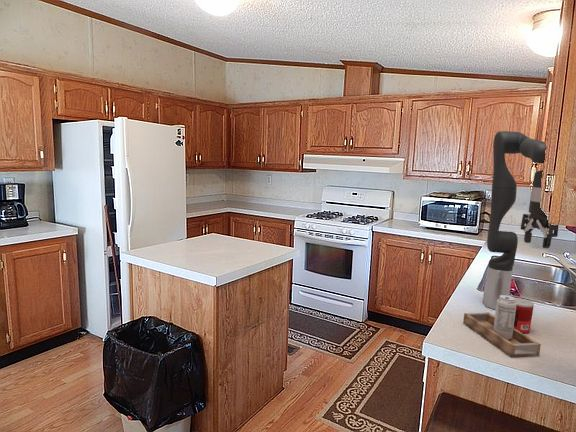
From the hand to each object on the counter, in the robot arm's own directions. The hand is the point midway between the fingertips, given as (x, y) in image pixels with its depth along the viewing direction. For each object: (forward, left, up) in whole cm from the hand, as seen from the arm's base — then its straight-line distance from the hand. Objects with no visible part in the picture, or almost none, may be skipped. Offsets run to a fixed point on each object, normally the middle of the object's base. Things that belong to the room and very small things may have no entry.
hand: (536, 245), depth 143 cm
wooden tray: (+4, -14, -33) cm, 36 cm away
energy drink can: (+6, -14, -32) cm, 36 cm away
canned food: (-2, -1, -33) cm, 33 cm away
